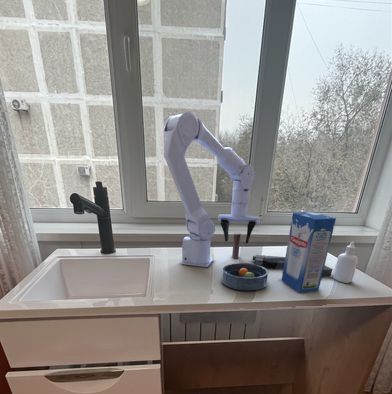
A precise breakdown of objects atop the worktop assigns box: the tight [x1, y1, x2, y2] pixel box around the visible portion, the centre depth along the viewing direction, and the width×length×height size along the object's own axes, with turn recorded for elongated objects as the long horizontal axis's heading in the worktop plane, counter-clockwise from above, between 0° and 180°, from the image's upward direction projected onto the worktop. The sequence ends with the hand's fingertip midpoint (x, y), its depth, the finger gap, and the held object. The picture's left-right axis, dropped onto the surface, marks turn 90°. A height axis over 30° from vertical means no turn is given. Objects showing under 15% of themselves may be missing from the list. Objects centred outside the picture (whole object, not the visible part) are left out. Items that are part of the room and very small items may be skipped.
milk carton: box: [281, 211, 337, 294], centre depth 81 cm, size 10×6×20 cm, turn 16°
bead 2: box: [244, 272, 255, 278], centre depth 85 cm, size 3×3×3 cm
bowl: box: [221, 262, 269, 292], centre depth 85 cm, size 13×13×4 cm
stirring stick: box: [231, 232, 242, 259], centre depth 107 cm, size 2×2×9 cm
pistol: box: [252, 254, 333, 277], centre depth 98 cm, size 2×26×15 cm
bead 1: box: [239, 268, 248, 277], centre depth 88 cm, size 3×3×3 cm
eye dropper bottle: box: [332, 241, 359, 284], centre depth 87 cm, size 4×6×12 cm
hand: (236, 241), depth 106 cm, fingers open, 7 cm apart
